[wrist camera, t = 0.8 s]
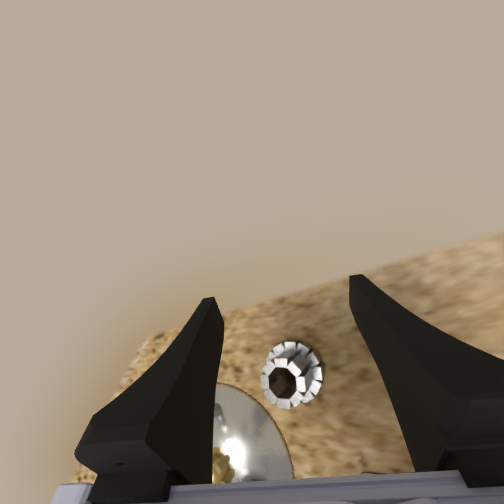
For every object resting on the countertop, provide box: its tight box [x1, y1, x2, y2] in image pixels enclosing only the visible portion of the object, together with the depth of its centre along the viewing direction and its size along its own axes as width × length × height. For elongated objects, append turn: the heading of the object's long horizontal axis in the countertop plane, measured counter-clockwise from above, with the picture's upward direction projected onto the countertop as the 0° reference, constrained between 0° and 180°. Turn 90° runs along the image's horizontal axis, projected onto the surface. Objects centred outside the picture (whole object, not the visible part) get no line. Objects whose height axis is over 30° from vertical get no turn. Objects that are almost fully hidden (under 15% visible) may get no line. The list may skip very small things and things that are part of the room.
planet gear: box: [261, 340, 324, 409], centre depth 23 cm, size 6×6×5 cm
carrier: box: [212, 384, 294, 484], centre depth 24 cm, size 16×16×6 cm
